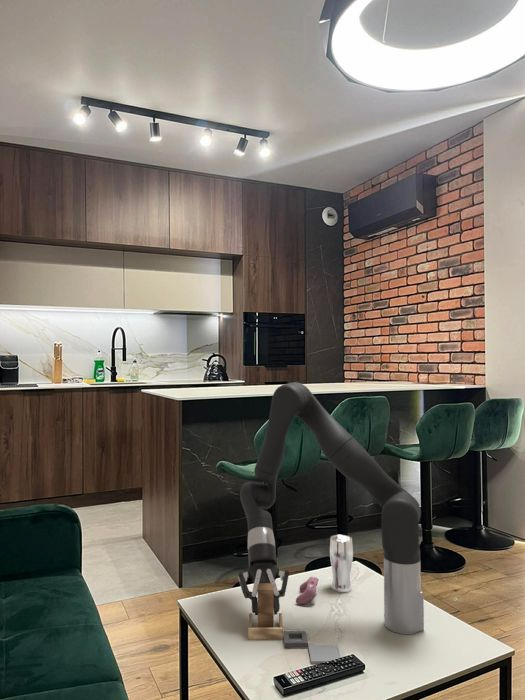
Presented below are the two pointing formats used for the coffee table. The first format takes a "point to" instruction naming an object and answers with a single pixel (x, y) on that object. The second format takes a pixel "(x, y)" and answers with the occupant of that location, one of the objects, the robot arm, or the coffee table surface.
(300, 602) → the video game controller
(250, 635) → the wooden u-shaped bracket
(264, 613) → the walnut block
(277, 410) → the robot arm
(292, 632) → the grey square frame
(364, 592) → the coffee table surface
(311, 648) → the grey pad
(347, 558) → the beer glass
